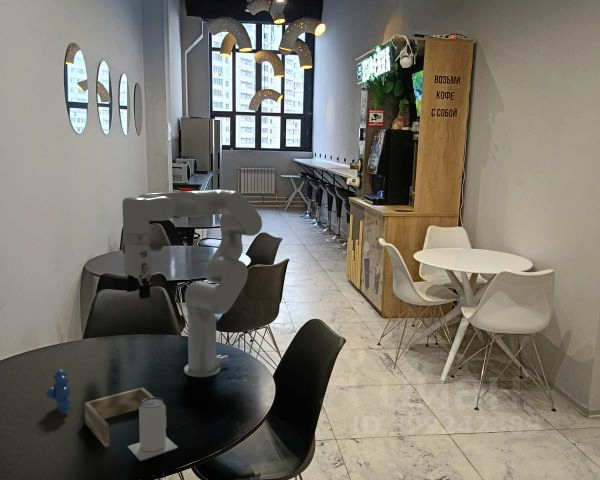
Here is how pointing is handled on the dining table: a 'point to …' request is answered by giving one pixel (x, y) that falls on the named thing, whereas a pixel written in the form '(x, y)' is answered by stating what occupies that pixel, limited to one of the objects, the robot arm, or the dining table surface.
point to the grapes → (60, 392)
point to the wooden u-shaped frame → (112, 410)
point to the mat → (145, 455)
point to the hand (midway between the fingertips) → (138, 294)
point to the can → (152, 424)
